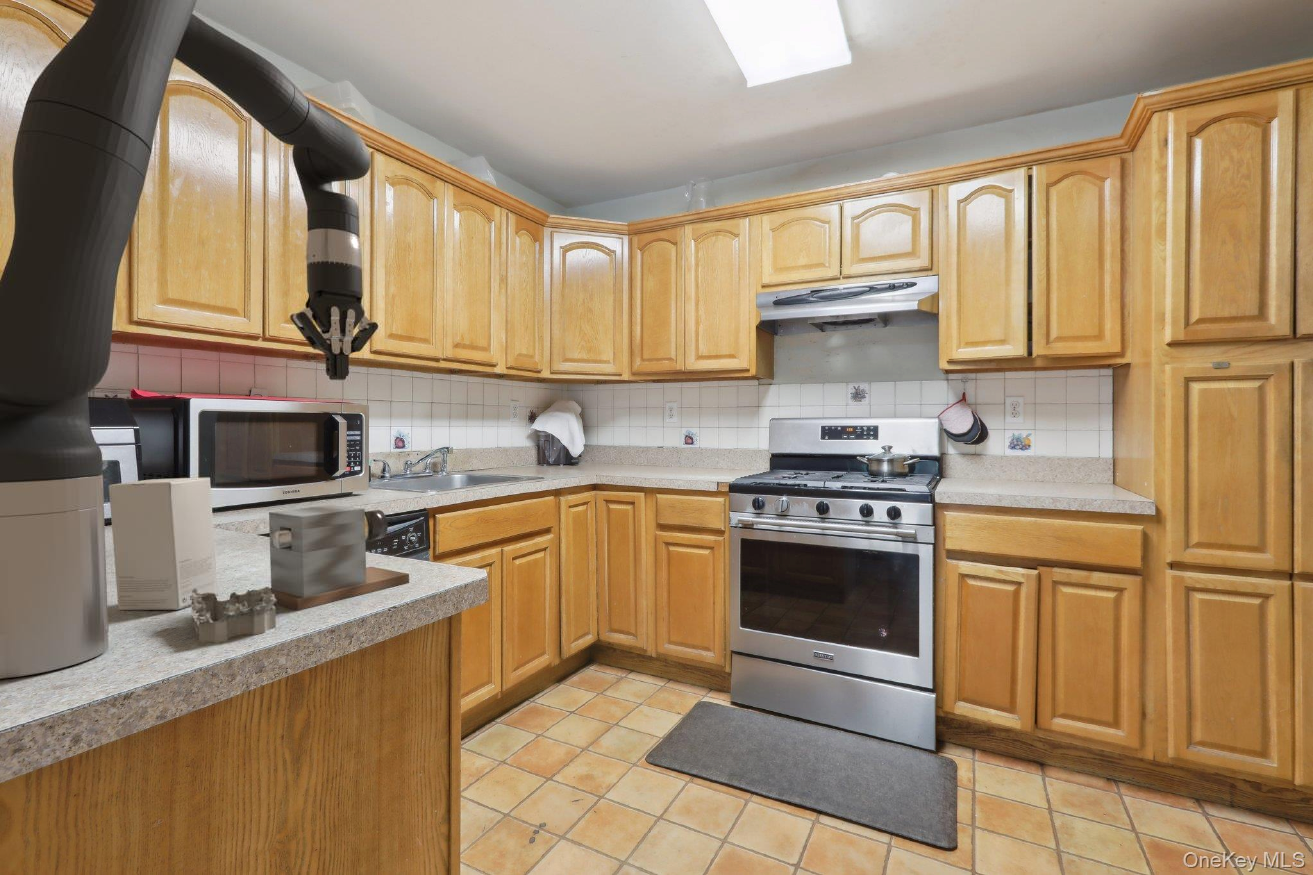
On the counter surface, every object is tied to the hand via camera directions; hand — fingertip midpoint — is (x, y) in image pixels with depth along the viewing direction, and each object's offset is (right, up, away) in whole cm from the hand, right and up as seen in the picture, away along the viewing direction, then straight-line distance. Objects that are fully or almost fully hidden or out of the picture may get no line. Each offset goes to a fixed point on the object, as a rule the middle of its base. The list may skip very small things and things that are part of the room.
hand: (337, 379), depth 95 cm
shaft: (+6, -23, -13) cm, 27 cm away
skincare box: (-12, -30, -17) cm, 37 cm away
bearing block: (+6, -29, -12) cm, 32 cm away
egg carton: (+2, -30, -26) cm, 40 cm away
